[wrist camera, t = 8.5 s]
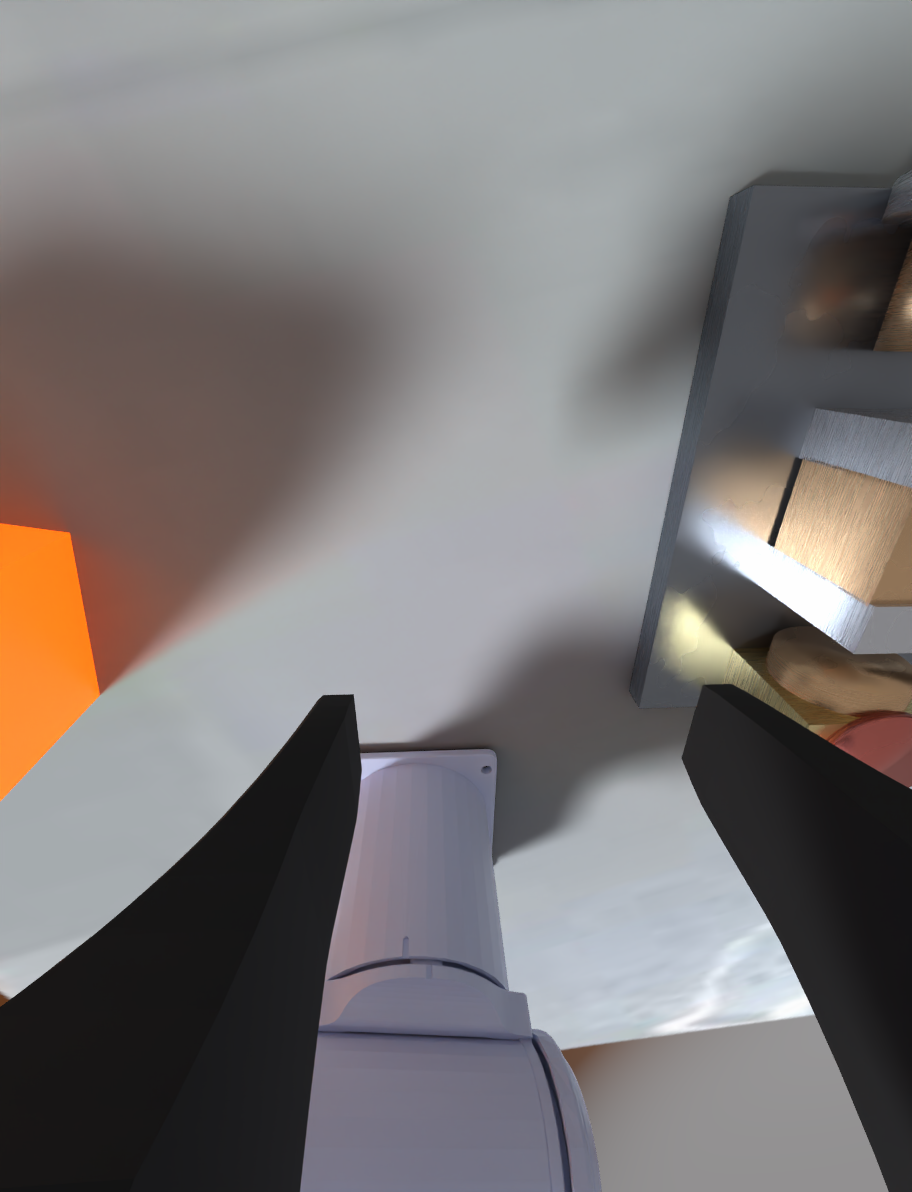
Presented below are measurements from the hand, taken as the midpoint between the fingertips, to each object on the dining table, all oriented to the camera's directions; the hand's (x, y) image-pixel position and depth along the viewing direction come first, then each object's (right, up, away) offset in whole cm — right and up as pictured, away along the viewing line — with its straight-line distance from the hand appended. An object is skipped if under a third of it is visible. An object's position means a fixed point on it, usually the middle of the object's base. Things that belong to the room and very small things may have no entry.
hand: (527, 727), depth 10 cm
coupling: (+13, +6, +7) cm, 16 cm away
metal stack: (+12, +6, +8) cm, 16 cm away
